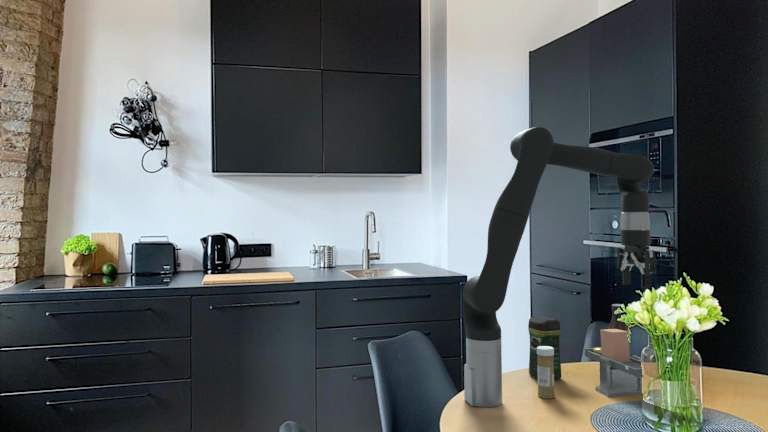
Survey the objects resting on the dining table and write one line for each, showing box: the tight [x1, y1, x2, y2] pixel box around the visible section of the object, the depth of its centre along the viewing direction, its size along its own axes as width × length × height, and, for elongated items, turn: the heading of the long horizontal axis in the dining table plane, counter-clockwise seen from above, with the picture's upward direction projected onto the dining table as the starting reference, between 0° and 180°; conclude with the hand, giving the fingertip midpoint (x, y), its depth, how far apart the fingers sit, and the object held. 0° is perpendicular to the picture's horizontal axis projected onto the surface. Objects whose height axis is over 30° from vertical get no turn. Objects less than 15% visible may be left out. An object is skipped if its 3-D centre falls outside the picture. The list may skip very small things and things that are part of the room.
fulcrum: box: [595, 355, 643, 398], centre depth 156 cm, size 12×6×10 cm, turn 100°
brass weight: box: [592, 346, 602, 355], centre depth 166 cm, size 4×4×2 cm
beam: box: [584, 347, 644, 378], centre depth 156 cm, size 8×26×2 cm, turn 10°
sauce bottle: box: [608, 303, 629, 331], centre depth 185 cm, size 6×6×20 cm
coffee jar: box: [527, 315, 562, 382], centre depth 172 cm, size 10×8×19 cm
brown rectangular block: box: [599, 328, 631, 361], centre depth 159 cm, size 5×6×8 cm
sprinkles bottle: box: [537, 346, 556, 400], centre depth 154 cm, size 5×5×14 cm
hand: (635, 286), depth 158 cm, fingers open, 8 cm apart
